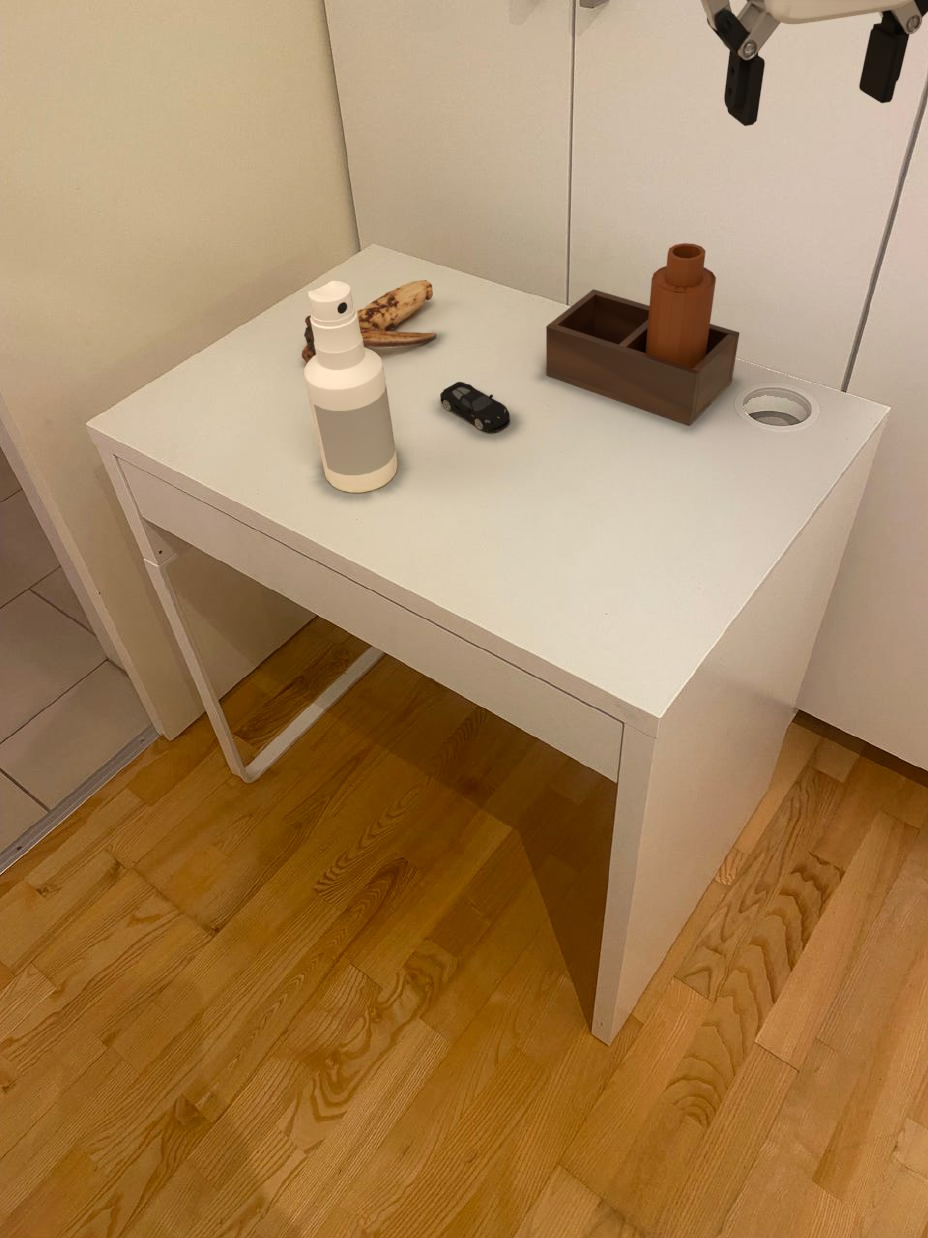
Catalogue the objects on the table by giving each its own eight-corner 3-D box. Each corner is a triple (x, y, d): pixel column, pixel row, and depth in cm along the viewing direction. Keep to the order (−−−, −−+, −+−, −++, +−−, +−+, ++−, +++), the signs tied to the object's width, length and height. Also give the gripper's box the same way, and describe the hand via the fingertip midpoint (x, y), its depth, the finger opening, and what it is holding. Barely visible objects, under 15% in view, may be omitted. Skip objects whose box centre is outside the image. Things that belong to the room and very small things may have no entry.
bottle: (704, 370, 95) (722, 239, 85) (697, 402, 92) (715, 268, 82) (648, 365, 97) (659, 234, 87) (639, 396, 93) (649, 263, 83)
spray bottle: (352, 504, 86) (317, 322, 73) (311, 470, 90) (270, 291, 76) (412, 471, 88) (389, 289, 75) (370, 439, 92) (340, 261, 79)
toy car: (516, 422, 93) (515, 404, 91) (490, 438, 91) (489, 419, 90) (461, 390, 97) (460, 372, 95) (436, 405, 96) (434, 387, 94)
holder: (591, 337, 102) (593, 288, 98) (731, 382, 95) (740, 331, 91) (546, 375, 98) (545, 325, 94) (689, 426, 90) (696, 374, 86)
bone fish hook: (345, 395, 99) (469, 321, 106) (338, 356, 95) (467, 282, 103) (290, 361, 103) (413, 292, 111) (281, 322, 100) (409, 254, 107)
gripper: (749, -205, 49) (709, 147, 61) (1056, -243, 50) (957, 106, 63) (691, -219, 54) (665, 109, 66) (972, -253, 56) (896, 71, 68)
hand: (808, 107), depth 64 cm, fingers open, 9 cm apart
